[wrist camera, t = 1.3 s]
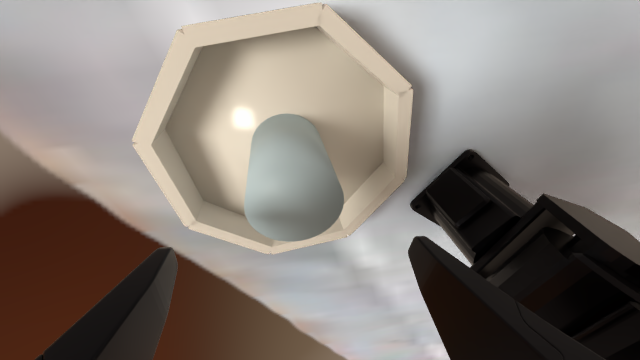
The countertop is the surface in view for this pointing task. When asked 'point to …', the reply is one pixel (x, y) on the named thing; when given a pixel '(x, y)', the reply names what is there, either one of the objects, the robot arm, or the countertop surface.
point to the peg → (291, 181)
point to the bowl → (266, 101)
